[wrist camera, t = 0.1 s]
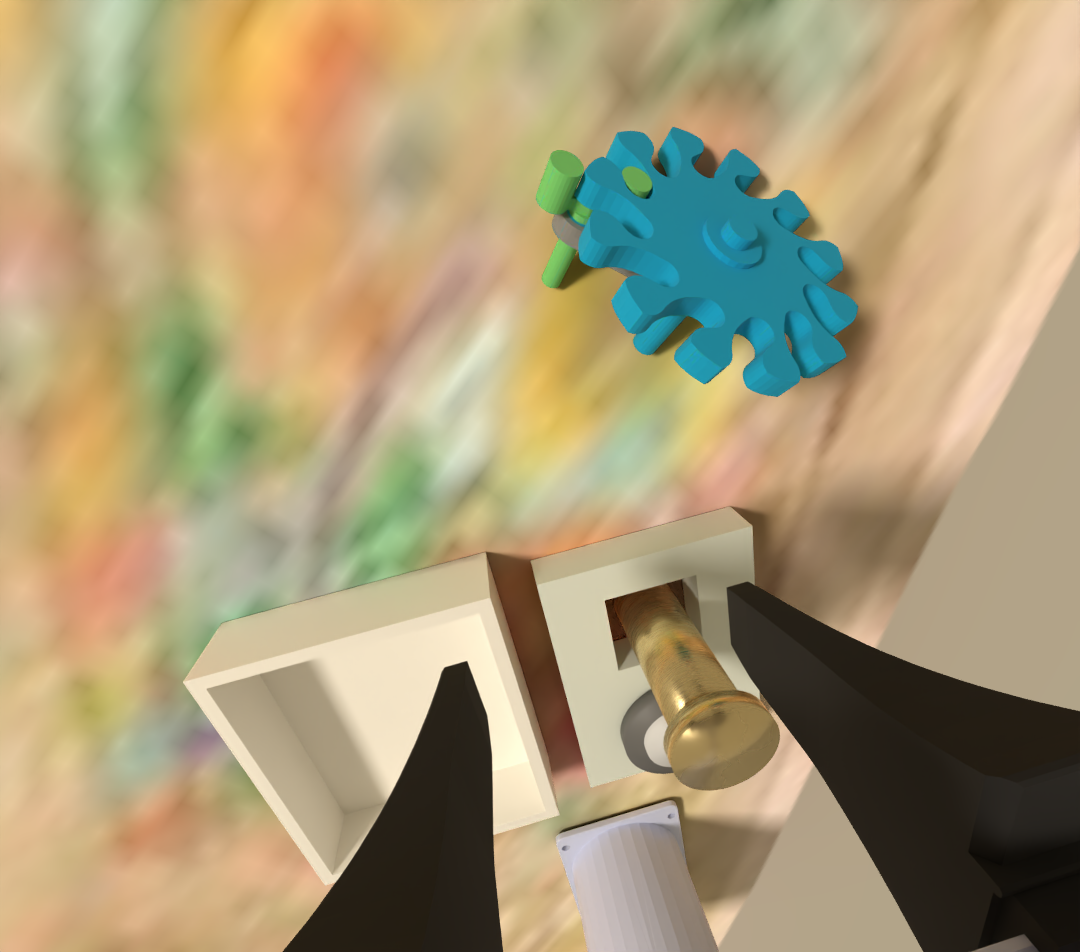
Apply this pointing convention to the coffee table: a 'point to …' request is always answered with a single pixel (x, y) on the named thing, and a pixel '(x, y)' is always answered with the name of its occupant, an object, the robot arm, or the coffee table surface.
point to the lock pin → (695, 695)
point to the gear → (700, 258)
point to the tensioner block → (611, 666)
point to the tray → (368, 701)
